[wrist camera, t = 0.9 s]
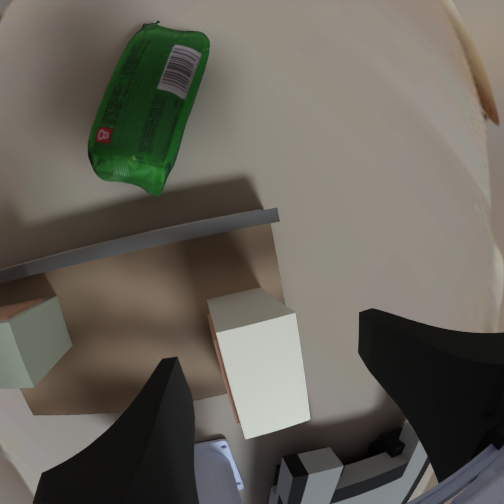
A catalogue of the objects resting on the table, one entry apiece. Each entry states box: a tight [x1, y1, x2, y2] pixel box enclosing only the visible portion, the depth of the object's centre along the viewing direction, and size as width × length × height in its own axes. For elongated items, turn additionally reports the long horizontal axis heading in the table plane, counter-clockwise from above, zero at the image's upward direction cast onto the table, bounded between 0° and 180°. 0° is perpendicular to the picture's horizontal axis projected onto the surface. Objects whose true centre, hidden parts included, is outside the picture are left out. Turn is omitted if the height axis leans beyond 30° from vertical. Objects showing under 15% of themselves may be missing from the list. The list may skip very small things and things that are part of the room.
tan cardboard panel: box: [0, 208, 285, 415], centre depth 21 cm, size 15×28×4 cm, turn 101°
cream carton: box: [207, 287, 310, 439], centre depth 20 cm, size 5×8×8 cm, turn 11°
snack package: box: [88, 20, 210, 196], centre depth 19 cm, size 7×16×5 cm, turn 168°
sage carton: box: [0, 296, 73, 388], centre depth 16 cm, size 5×8×8 cm, turn 101°
